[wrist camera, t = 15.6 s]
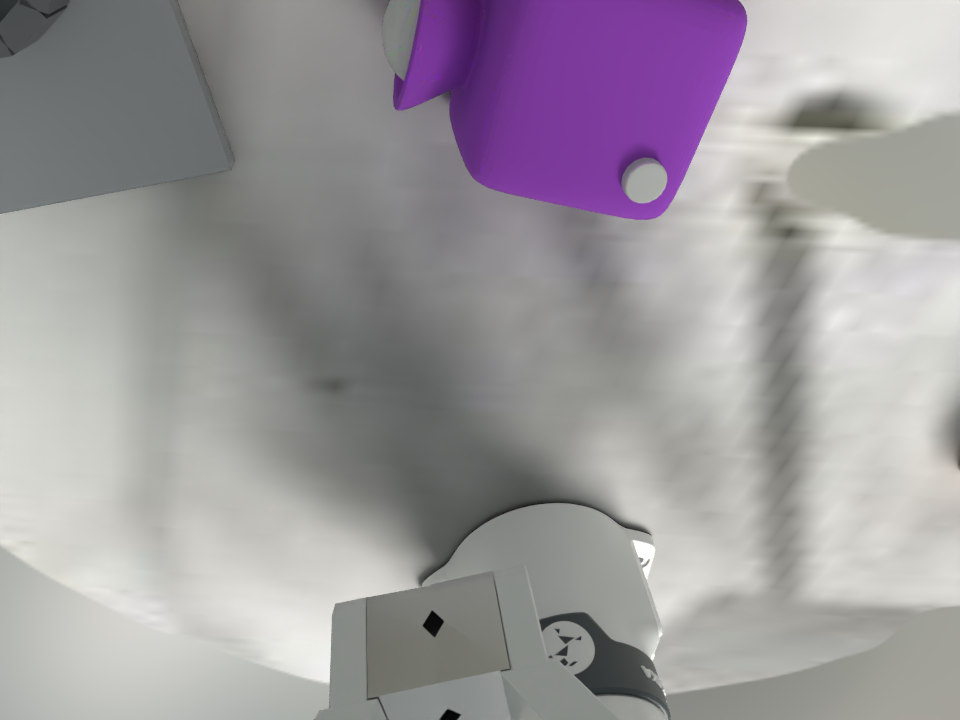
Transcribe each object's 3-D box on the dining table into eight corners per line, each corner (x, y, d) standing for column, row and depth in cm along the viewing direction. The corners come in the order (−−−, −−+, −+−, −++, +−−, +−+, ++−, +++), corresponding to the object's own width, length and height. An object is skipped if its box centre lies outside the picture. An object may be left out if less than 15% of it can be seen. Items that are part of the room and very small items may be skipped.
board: (234, 161, 36) (231, 170, 35) (-7, 206, 35) (-17, 217, 34) (83, -260, 26) (72, -264, 25) (-250, -203, 26) (-273, -205, 25)
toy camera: (378, -104, 30) (386, -85, 22) (685, -79, 32) (794, -53, 24) (379, 149, 36) (386, 236, 28) (636, 156, 38) (710, 238, 30)
